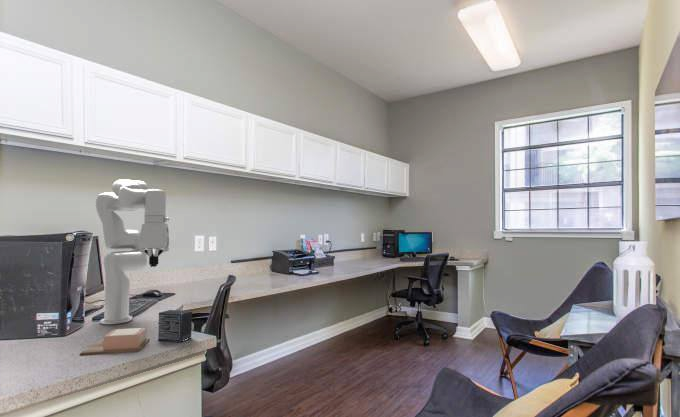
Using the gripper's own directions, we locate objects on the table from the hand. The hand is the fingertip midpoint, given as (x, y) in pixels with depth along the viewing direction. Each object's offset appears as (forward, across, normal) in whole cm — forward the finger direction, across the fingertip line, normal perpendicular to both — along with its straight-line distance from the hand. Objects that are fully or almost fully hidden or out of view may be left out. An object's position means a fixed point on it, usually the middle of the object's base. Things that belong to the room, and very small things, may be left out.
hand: (153, 266), depth 145 cm
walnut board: (+27, +8, +13) cm, 31 cm away
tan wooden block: (+24, +11, +13) cm, 29 cm away
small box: (+27, -10, +7) cm, 30 cm away
